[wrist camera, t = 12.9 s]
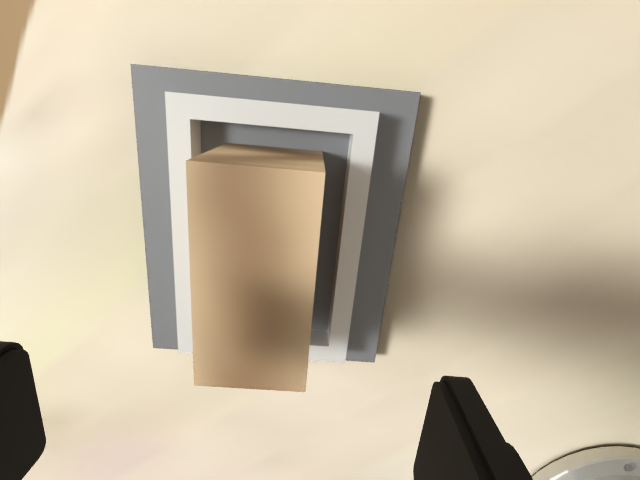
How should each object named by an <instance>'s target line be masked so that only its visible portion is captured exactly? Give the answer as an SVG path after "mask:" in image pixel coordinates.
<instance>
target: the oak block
mask: <svg viewBox="0 0 640 480" xmlns="http://www.w3.org/2000/svg"><path fill="white" fill-rule="evenodd" d="M325 173H326V172H325V166H324V160H323V154H322V151H315V150H303V149H292V148H281V147H269V146H258V145H246V144H235V143H226V144H224V145H221V146H219V147H217V148H214V149H212V150H209V151H207V152H205V153H202V154H200V155H198V156H195V157H193V158H191V159H188V160H186V183H187V209H188V235H189V262H190V288H191V314H192V341H193V367H194V385H196V386H212V387H229V388H246V389H263V390H279V391H296V392H305V389H306V379H307V368H308V357H309V346H310V335H311V325H312V314H313V303H314V292H315V281H316V271H317V260H318V249H319V238H320V227H321V216H322V206H323V195H324V184H325Z"/></svg>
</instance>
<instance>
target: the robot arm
mask: <svg viewBox="0 0 640 480" xmlns="http://www.w3.org/2000/svg"><path fill="white" fill-rule="evenodd" d="M45 444H46V437H45V432H44V427H43V422H42V417H41V412H40V407H39V403H38V398H37V393H36V388H35V383H34V378H33V373H32V368H31V363H30V359H29V355H28V352H27V351H25V350H23V347H22V346H21V345H20V344H19V343H15V342H2V341H0V480H22V478H23V477H24V476H25V475H26V474H27V472H28V471H29V470H30V469H31V467H32V466H33V465H34V464H35V463H36V461H37V460H38V459H39V457H40V456H41V455H42V453H43V451H44V448H45ZM413 473H414V480H640V449H639V448H634V447H623V446H609V447H598V448H593V449H587V450H583V451H580V452H577V453H573V454H570V455H567V456H565V457H563V458H561V459H559V460H557V461H554V462H552V463H551V464H549V465H547V466H546V467H544V468H543V469H541V470H540V471H538V472H537V473H536V474H535V475H533V476H532V477H531V475H530V473H529V472H528V470H527V468H526V466H525V465H524V463H523V461H522V459H521V458H520V456H519V454H518V453H517V451H516V450H515V449H514V447H513V446H511V445H510V444H509V443H506V442H505V440H504V438H503V436H502V434H501V433H500V431H499V429H498V427H497V426H496V424H495V422H494V420H493V418H492V417H491V415H490V413H489V411H488V409H487V408H486V406H485V404H484V402H483V401H482V399H481V397H480V395H479V393H478V392H477V390H476V388H475V386H474V384H473V383H472V381H471V380H470V379H469V378H467V377H454V376H443V377H442V378H441V380H440V382H434V384H433V386H432V390H431V395H430V399H429V403H428V407H427V412H426V416H425V420H424V424H423V429H422V433H421V437H420V442H419V446H418V450H417V454H416V459H415V463H414V471H413Z"/></svg>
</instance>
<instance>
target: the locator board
mask: <svg viewBox="0 0 640 480" xmlns="http://www.w3.org/2000/svg"><path fill="white" fill-rule="evenodd" d="M131 75H132V88H133V100H134V113H135V125H136V138H137V151H138V163H139V176H140V188H141V201H142V214H143V226H144V239H145V251H146V264H147V276H148V289H149V302H150V314H151V327H152V339H153V348H163V349H178V352H184V353H193V341H192V314H191V288H190V262H189V235H188V209H187V183H186V160H188V159H191V158H193V157H195V156H198V155H200V154H202V153H205V152H207V151H209V150H212V149H214V148H217V147H219V146H221V145H224V144H226V143H235V144H246V145H258V146H269V147H281V148H292V149H303V150H315V151H322V154H323V160H324V166H325V172H326V173H325V184H324V195H323V206H322V216H321V227H320V238H319V249H318V260H317V271H316V281H315V292H314V303H313V314H312V325H311V335H310V346H309V357H308V361H322V362H337V363H345V360H346V361H361V362H375V357H376V351H377V345H378V339H379V333H380V327H381V321H382V316H383V310H384V304H385V298H386V292H387V286H388V281H389V275H390V269H391V263H392V257H393V251H394V245H395V240H396V234H397V228H398V222H399V216H400V210H401V204H402V199H403V193H404V187H405V181H406V175H407V169H408V164H409V158H410V152H411V146H412V140H413V134H414V128H415V123H416V117H417V111H418V105H419V99H420V93H421V92H411V91H401V90H391V89H380V88H370V87H360V86H350V85H340V84H330V83H319V82H309V81H299V80H289V79H279V78H269V77H259V76H248V75H238V74H228V73H218V72H208V71H198V70H187V69H177V68H167V67H157V66H147V65H137V64H131Z"/></svg>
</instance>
